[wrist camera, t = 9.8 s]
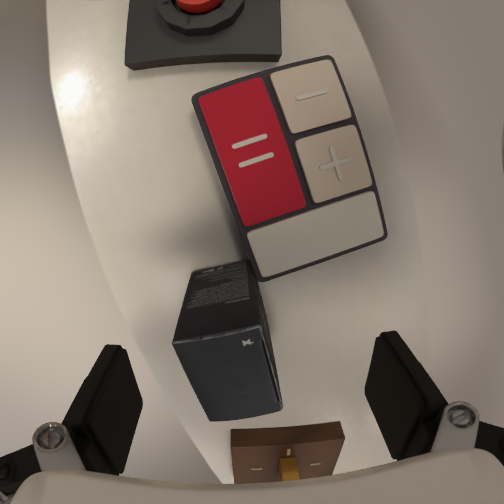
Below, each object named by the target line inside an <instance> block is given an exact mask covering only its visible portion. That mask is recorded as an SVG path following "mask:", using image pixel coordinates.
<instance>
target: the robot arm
mask: <svg viewBox="0 0 504 504" xmlns="http://www.w3.org/2000/svg"><path fill="white" fill-rule="evenodd" d="M365 396H366V398H367V401H368V403H369V405H370V407H371V410H372V412H373V414H374V417H375V419H376V421H377V424H378V426H379V428H380V431H381V433H382V435H383V438H384V440H385V442H386V445H387V447H388V449H389V452H390V454H391V457H392V458H393V459H397V461H396V462H392V463H388V464H384V465H379V466H375V467H371V468H366V469H361V470H357V471H352V472H347V473H341V474H336V475H329V476H323V477H316V478H309V479H301V480H291V481H281V482H268V483H249V484H198V483H180V482H167V481H156V480H147V479H139V478H130V477H124V476H119V473H123V471H124V469H125V465H126V461H127V457H128V454H129V451H130V447H131V444H132V440H133V437H134V433H135V430H136V427H137V423H138V420H139V417H140V413H141V410H142V406H143V401H142V397H141V394H140V391H139V388H138V385H137V382H136V379H135V376H134V373H133V370H132V367H131V364H130V360H129V357H128V354H127V351H126V350H125V349H123V348H122V347H121V346H120V345H109V344H107V345H105V347H104V348H103V350H102V352H101V353H100V355H99V357H98V359H97V361H96V362H95V364H94V366H93V368H92V370H91V371H90V373H89V375H88V377H86V379H85V380H84V382H83V384H82V385H81V388H80V389H79V391H78V393H77V395H76V397H75V399H74V401H73V402H72V404H71V406H70V408H69V410H68V412H67V414H66V416H65V418H64V420H63V422H62V424H60V423H57V422H49V423H45V424H43V425H41V426H40V427H39V428H38V429H37V430H36V431H35V433H34V435H33V438H32V439H33V444H32V445H30V446H27V447H25V448H22V449H20V450H18V451H15V452H13V453H10V454H8V455H5V456H3V457H0V504H504V428H501V427H498V426H494V425H491V424H487V423H484V422H481V421H479V414H478V411H477V410H476V409H475V407H473V406H472V405H471V404H469V403H466V402H460V401H458V402H452V403H450V404H448V403H447V401H446V400H445V398H444V397H443V395H442V394H441V392H440V391H439V389H438V388H437V386H436V385H435V383H434V382H433V381H432V379H431V378H430V376H429V375H428V373H427V372H426V370H425V369H424V368H423V366H422V365H421V363H420V362H419V361H418V360H417V359H416V357H415V356H414V355H413V353H412V352H411V350H410V349H409V348H408V346H407V345H406V343H405V342H404V341H403V339H402V338H401V337H400V335H399V334H398V333H397V332H396V331H389V332H382V333H381V334H380V336H379V337H377V338H376V340H375V345H374V350H373V355H372V359H371V364H370V368H369V372H368V377H367V381H366V385H365Z"/></svg>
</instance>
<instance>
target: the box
mask: <svg viewBox="0 0 504 504" xmlns="http://www.w3.org/2000/svg"><path fill="white" fill-rule="evenodd" d="M172 345H173V347H174V349H175V351H176V354H177V356H178V358H179V360H180V362H181V364H182V367H183V369H184V371H185V373H186V375H187V377H188V379H189V381H190V383H191V386H192V387H193V390H194V392H195V393H196V395H197V398H198V399H199V401H200V403H201V405H202V407H203V409H204V411H205V413H206V415H207V417H208V419H209V421H229V420H238V419H244V418H251V417H256V416H261V415H265V414H270V413H274V412H277V411H281V409H283V403H282V398H281V393H280V387H279V381H278V375H277V370H276V364H275V358H274V354H273V348H272V342H271V337H270V331H269V326H268V322H267V317H266V314H265V309H264V306H263V301H262V297H261V293H260V289H259V286H258V281H257V278H256V275H255V273H254V270H253V267H252V265H251V262H250V259H247V260H242V261H237V262H232V263H227V264H223V265H219V266H214V267H210V268H206V269H201V270H197V271H193V273H191V277H190V280H189V284H188V287H187V290H186V294H185V297H184V301H183V305H182V308H181V312H180V315H179V319H178V322H177V327H176V330H175V334H174V338H173V341H172Z"/></svg>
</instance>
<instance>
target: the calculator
mask: <svg viewBox="0 0 504 504" xmlns="http://www.w3.org/2000/svg"><path fill="white" fill-rule="evenodd" d="M192 104H193V107H194V109H195V112H196V115H197V118H198V120H199V123H200V126H201V129H202V131H203V134H204V137H205V140H206V142H207V145H208V148H209V150H210V153H211V156H212V159H213V161H214V164H215V167H216V170H217V172H218V175H219V178H220V181H221V183H222V186H223V189H224V191H225V194H226V197H227V200H228V202H229V205H230V208H231V211H232V213H233V216H234V219H235V221H236V224H237V227H238V230H239V232H240V235H241V238H242V240H243V243H244V246H245V249H246V251H247V254H248V257H249V259H250V262H251V265H252V267H253V270H254V273H255V275H256V278H257V280H258V281H260V282H265V281H268V280H271V279H274V278H277V277H280V276H283V275H286V274H289V273H292V272H295V271H298V270H301V269H304V268H307V267H310V266H312V265H315V264H318V263H321V262H324V261H327V260H330V259H333V258H335V257H338V256H341V255H344V254H347V253H349V252H352V251H355V250H358V249H361V248H363V247H366V246H369V245H372V244H374V243H377V242H380V241H382V240H385V239H386V238H387V228H386V224H385V219H384V215H383V211H382V206H381V202H380V198H379V194H378V190H377V186H376V182H375V179H374V175H373V171H372V168H371V164H370V161H369V157H368V154H367V150H366V147H365V144H364V141H363V137H362V134H361V131H360V128H359V125H358V122H357V119H356V116H355V113H354V110H353V107H352V105H351V102H350V99H349V96H348V93H347V91H346V88H345V85H344V83H343V80H342V78H341V75H340V73H339V70H338V68H337V65H336V63H335V60H334V58H333V57H331V56H329V55H326V56H321V57H316V58H312V59H307V60H303V61H299V62H295V63H291V64H287V65H283V66H279V67H275V68H272V69H268V70H265V71H261V72H258V73H254V74H251V75H248V76H245V77H241V78H238V79H235V80H232V81H229V82H226V83H223V84H220V85H218V86H215V87H212V88H209V89H207V90H204V91H201V92H199V93H196V94H194V95H193V96H192Z"/></svg>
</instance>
